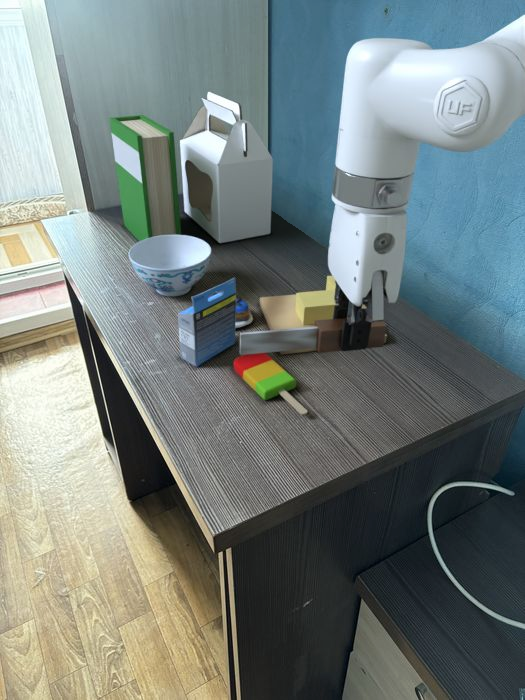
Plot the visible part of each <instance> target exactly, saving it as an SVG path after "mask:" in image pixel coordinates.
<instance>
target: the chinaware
mask: <svg viewBox="0 0 525 700" xmlns="http://www.w3.org/2000/svg"><path fill="white" fill-rule="evenodd" d="M211 257H212V248H211V246H210V244H209V243H208V242H206V241H205V240H204V239H201V238H199V237H195V236H192V235H187V234H181V235H161V236H155V237H151V238H147V239H144V240H142V241H140V242H139V241H138V242H136V243H135V244H133V245H132V246H131V247H130V248H129V250H128V259H129V262H130V264H131V266H132V268H133V270H134V272H135V273H136V275H137V276H138V278H139V279H140V280H141V281H143V283H145V284H146V285H147V286H149V287H150V288H153V289H155V291H156V292H157V293H158V294H159V295H161V296H164V297H165V296H166V297H180V296H183V295H186V294H187V293H189V292H190V290H191V289H192V287H193V286H195V285H196V284H197V283H198V282H199V281H200V280H201V279H202V278H203V277H204V275H205V274H206V271H207V270H208V268H209V264H210V261H211Z"/></svg>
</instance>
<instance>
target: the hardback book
mask: <svg viewBox="0 0 525 700" xmlns="http://www.w3.org/2000/svg"><path fill="white" fill-rule="evenodd" d="M108 119H109V126H110V133H111V141H112V147H113V148H112V149H113V155H114V162H115V168H116V175H117V183H118V191H119V199H120V205H121V213H122V219H123V226H124V227H125V228H126V229H127V230H128V231H129V233H131V234H132V236H134V237H135V239H136V240H137V241H138V242H140V241H142V240H144V239H147V238H151V237H155V236H161V235H182V229H181V228H182V226H181V213H180V199H179V185H178V173H177V160H176V159H177V158H176V147H175V133H174V131H172V130H170V129H169V128H167V127H166V126H164V125H162V124H160V123H158V122H156V121H154V120H152V119H151V118H149V117H147V116H146V115H144V114H137V115H126V116H113V117H109V118H108Z"/></svg>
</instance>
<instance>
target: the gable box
mask: <svg viewBox="0 0 525 700" xmlns="http://www.w3.org/2000/svg"><path fill="white" fill-rule="evenodd" d="M206 97H207V98H205V97H203V96H202V97H201V100H202V102H203V105H202V106H201V107H199V109H198V111H197V112H196V114H195V115H194V117H193V119H192V121H191V123H190V124H189V126H188V127H187V129H186V131H185V133H184V134H183V136H182V138H181V139H180V140H179V148H180V150H179V151H180V162H181V163H180V164H181V179H182V180H181V181H182V193H183V195H182V197H183V207H184V209H183V211H184V213H185V214H187V215H188V216H189V217H190V218H191V219H192V220H193V221H194V222H195V223H197V224H198V225H199V226H200V227H201V229H203V230H204V231H205V232H207V234H208V235H210V236H211V237H212V238H213V239H214V240H215V241H217V242H218V244H224V243H231V242H236V241H241V240H245V239H251V238H256V237H262V236H267V235H271V226H272V202H273V201H272V199H273V171H274V170H273V167H274V157H273V156H272V154H270V152H269V150H268V148H267V147H266V145H265V143H264V142H263V140H262V139H261V137H260V135H258V133H257V131H256V129H255V128H254V126H253V124H252V123H251V122H250V121H248V120H247V119H243V112H242V105H241V103H239V102H237V101H235V100H233V99H230V98H228V97H225V96H223V95H220V94H217V93H216V92H213V91H208V92H207V96H206ZM224 122H225V123H227V124H230V125H232V126H231V129H230V131H228V129H227V127H226V124H225V123H224Z"/></svg>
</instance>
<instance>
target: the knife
mask: <svg viewBox="0 0 525 700" xmlns="http://www.w3.org/2000/svg"><path fill="white" fill-rule="evenodd" d="M343 320H347V318H340V319H327V320H316V321H315V327H304V328H293V329H281V330H270V329H269V330H257V331H247V332H246V331H245V332H239V355H240V356H243V355H246V354H256V353H266V354H267V353H277V352H278V353H279V351H289V350H300V349H311V348H316V349H317V351H316V352H318V353H320V354H321V353H331V352H343V351H342V350H341V348H340V342H341V335H342V327H343ZM387 328H388V325H387V323H386V322H385V321H384V320H383V321H380V322H373V323H372V324H371V330H370V335H369V341H368V346H367V348H366V349H374V348H383V347H384V344H385V343H384V338H385V334H386V335H387Z"/></svg>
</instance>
